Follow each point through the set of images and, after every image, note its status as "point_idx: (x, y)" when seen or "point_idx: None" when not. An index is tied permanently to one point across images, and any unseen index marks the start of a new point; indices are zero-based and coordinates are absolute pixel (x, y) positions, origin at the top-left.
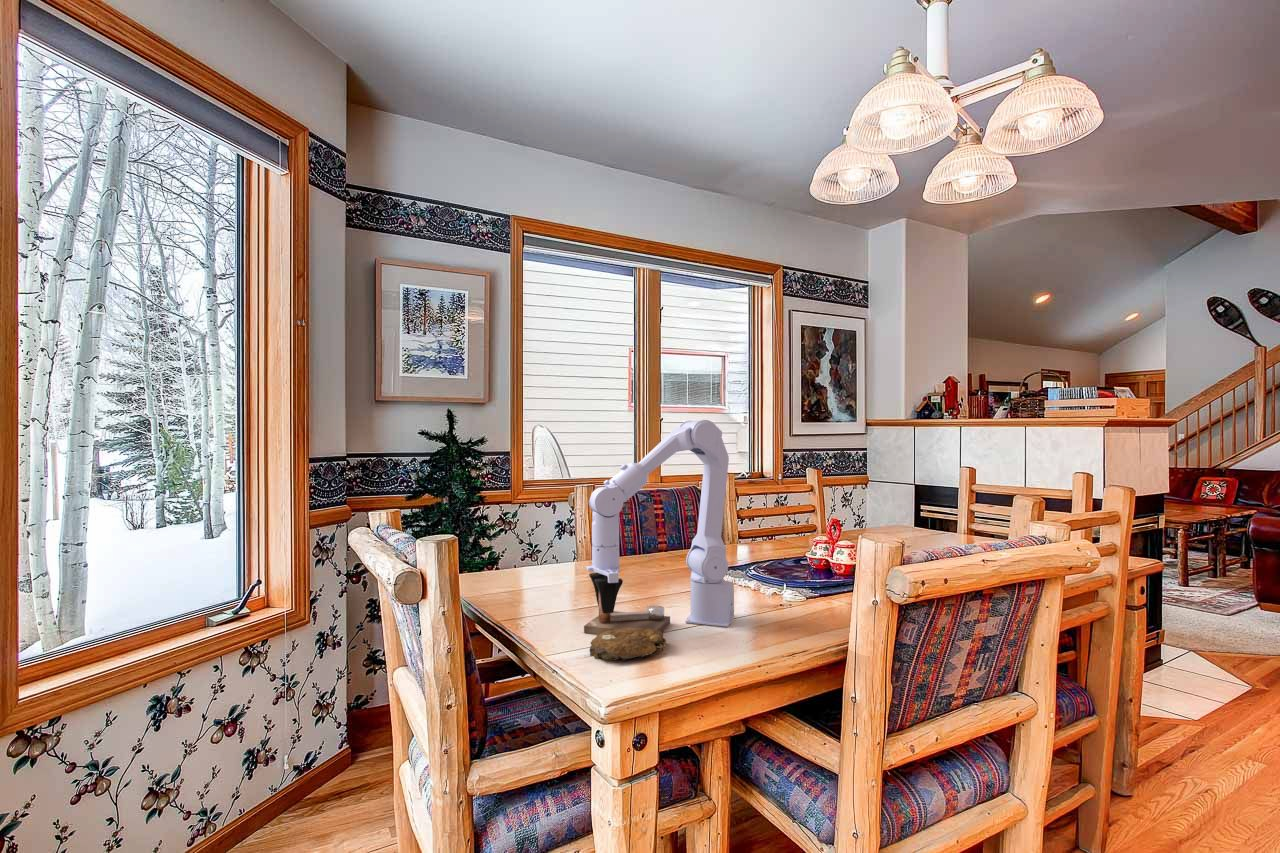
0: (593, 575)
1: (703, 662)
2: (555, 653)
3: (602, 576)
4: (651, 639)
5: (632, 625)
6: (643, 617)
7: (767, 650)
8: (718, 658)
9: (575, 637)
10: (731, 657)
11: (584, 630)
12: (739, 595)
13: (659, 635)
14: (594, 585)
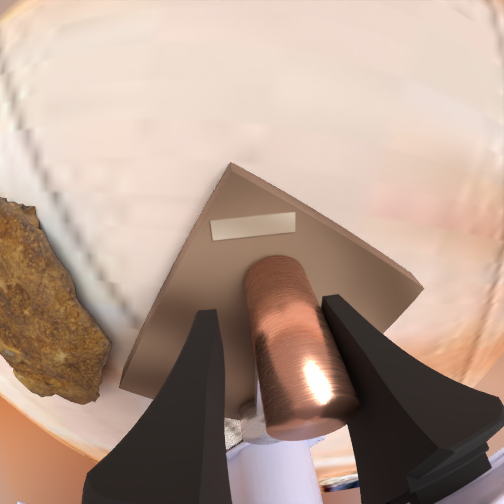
0: (436, 465)
1: (25, 394)
2: (2, 58)
3: (393, 481)
4: (15, 371)
5: None
6: (255, 394)
7: (103, 455)
8: (50, 414)
9: (172, 116)
10: (61, 425)
11: (229, 167)
12: None
13: (34, 392)
14: (393, 392)
